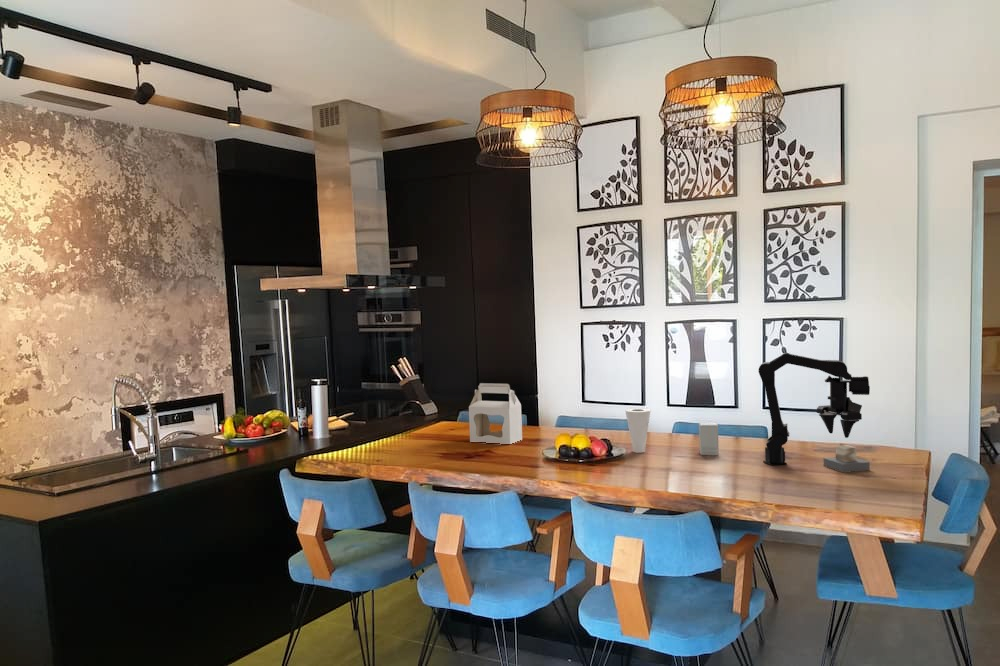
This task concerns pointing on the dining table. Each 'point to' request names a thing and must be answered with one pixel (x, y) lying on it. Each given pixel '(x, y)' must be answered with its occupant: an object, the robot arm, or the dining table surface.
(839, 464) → the base
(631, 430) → the cup
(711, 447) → the supplement box
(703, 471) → the dining table surface
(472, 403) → the gable box
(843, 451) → the cube
